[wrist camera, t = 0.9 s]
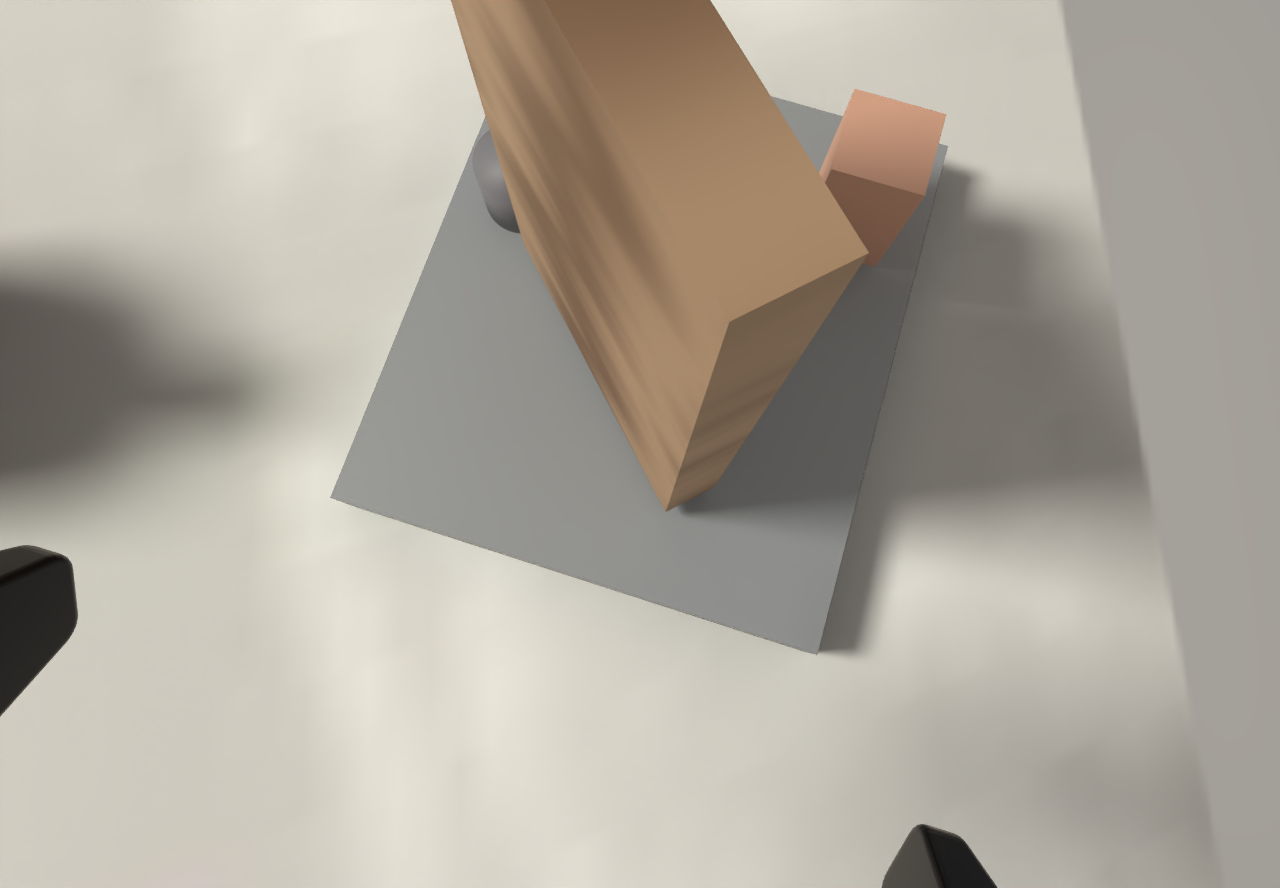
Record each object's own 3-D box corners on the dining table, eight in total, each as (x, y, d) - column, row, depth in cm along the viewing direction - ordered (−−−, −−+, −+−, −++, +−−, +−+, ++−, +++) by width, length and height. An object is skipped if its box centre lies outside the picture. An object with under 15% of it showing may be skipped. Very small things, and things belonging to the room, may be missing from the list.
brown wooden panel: (523, 243, 22) (349, -337, 9) (569, 222, 22) (471, -380, 9) (665, 512, 21) (730, 322, 7) (713, 487, 21) (868, 252, 7)
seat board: (804, 651, 22) (860, 665, 17) (349, 504, 23) (261, 472, 17) (929, 173, 25) (1010, 54, 20) (528, 59, 26) (500, -85, 21)
